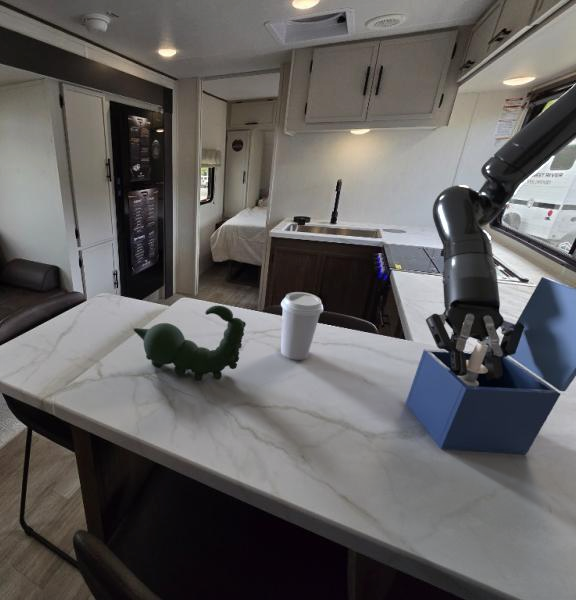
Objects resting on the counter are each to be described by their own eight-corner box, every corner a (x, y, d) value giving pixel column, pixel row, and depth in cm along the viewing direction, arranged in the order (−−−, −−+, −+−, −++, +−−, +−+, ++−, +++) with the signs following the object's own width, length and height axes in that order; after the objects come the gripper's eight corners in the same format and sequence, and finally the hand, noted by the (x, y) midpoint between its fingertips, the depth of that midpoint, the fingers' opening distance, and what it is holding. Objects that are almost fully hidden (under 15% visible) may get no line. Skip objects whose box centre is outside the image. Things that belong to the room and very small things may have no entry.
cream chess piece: (471, 384, 62) (493, 334, 58) (488, 403, 57) (513, 351, 53) (438, 380, 63) (457, 331, 59) (453, 398, 58) (474, 347, 54)
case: (440, 449, 58) (466, 388, 53) (405, 403, 69) (423, 349, 64) (526, 454, 57) (561, 393, 52) (477, 407, 68) (501, 352, 62)
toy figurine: (237, 374, 81) (140, 348, 87) (251, 302, 72) (143, 280, 79) (229, 399, 72) (123, 369, 79) (244, 322, 64) (125, 295, 71)
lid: (618, 306, 46) (624, 306, 46) (541, 276, 56) (546, 277, 56) (559, 391, 52) (565, 391, 52) (500, 350, 62) (505, 350, 62)
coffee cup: (298, 340, 92) (306, 288, 85) (322, 359, 83) (334, 303, 77) (267, 346, 89) (274, 293, 83) (289, 366, 81) (298, 309, 74)
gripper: (434, 271, 61) (438, 366, 55) (532, 279, 57) (548, 382, 51) (416, 287, 67) (418, 373, 62) (502, 296, 64) (513, 388, 58)
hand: (477, 377), depth 57 cm, fingers closed on cream chess piece, 4 cm apart
